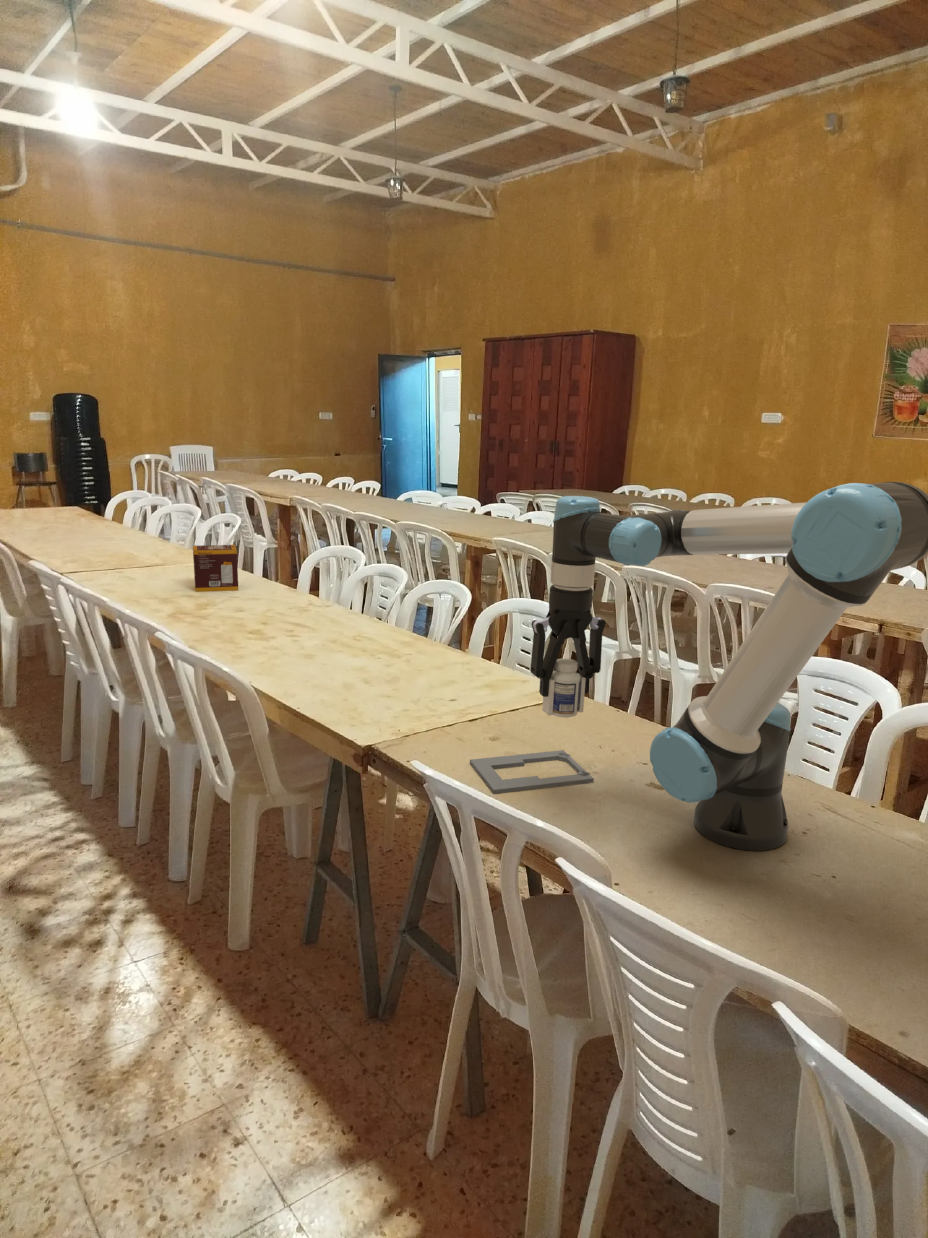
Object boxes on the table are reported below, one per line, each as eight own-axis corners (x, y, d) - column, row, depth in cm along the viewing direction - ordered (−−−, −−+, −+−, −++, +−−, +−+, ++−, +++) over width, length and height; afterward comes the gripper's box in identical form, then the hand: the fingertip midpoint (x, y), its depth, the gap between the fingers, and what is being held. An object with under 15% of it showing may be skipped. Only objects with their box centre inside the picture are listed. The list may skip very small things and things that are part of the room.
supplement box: (194, 586, 318) (192, 545, 314) (237, 585, 323) (235, 544, 319) (195, 592, 308) (192, 549, 305) (238, 590, 313) (237, 548, 309)
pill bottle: (558, 705, 157) (561, 655, 155) (583, 712, 154) (587, 661, 152) (542, 713, 153) (545, 661, 151) (567, 720, 150) (571, 668, 147)
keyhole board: (595, 782, 160) (595, 778, 160) (493, 793, 154) (493, 789, 154) (564, 753, 173) (565, 749, 173) (469, 763, 167) (469, 759, 167)
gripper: (608, 579, 154) (598, 700, 160) (514, 583, 148) (507, 708, 154) (629, 588, 147) (617, 714, 153) (531, 592, 141) (524, 723, 147)
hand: (562, 711), depth 154 cm, fingers closed on pill bottle, 5 cm apart
